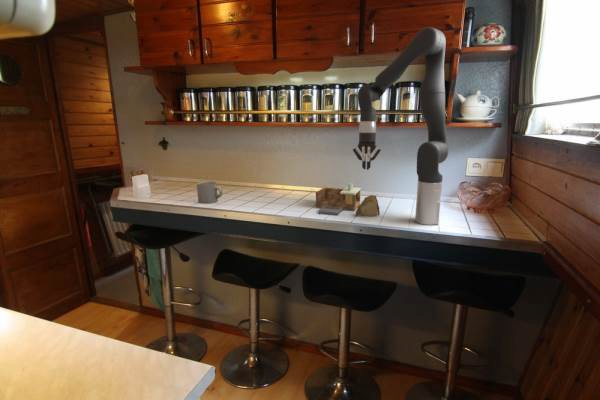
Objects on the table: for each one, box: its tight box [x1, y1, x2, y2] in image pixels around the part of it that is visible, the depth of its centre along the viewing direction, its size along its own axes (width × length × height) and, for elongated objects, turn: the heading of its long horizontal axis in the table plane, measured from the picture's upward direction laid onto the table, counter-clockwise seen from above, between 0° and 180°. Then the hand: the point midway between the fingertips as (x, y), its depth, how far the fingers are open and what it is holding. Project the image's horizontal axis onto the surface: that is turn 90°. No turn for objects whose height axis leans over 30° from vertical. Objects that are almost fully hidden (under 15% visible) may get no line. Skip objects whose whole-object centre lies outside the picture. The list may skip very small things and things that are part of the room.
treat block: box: [345, 194, 356, 204], centre depth 166 cm, size 4×4×5 cm
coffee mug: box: [196, 180, 223, 205], centre depth 179 cm, size 13×10×10 cm
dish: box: [317, 206, 344, 216], centre depth 159 cm, size 9×9×1 cm
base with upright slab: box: [131, 173, 152, 199], centre depth 192 cm, size 9×9×12 cm
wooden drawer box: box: [315, 187, 361, 212], centre depth 168 cm, size 19×12×8 cm, turn 68°
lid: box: [340, 182, 362, 195], centre depth 165 cm, size 7×12×4 cm, turn 158°
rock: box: [354, 194, 381, 218], centre depth 153 cm, size 11×9×10 cm
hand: (366, 169), depth 160 cm, fingers closed
